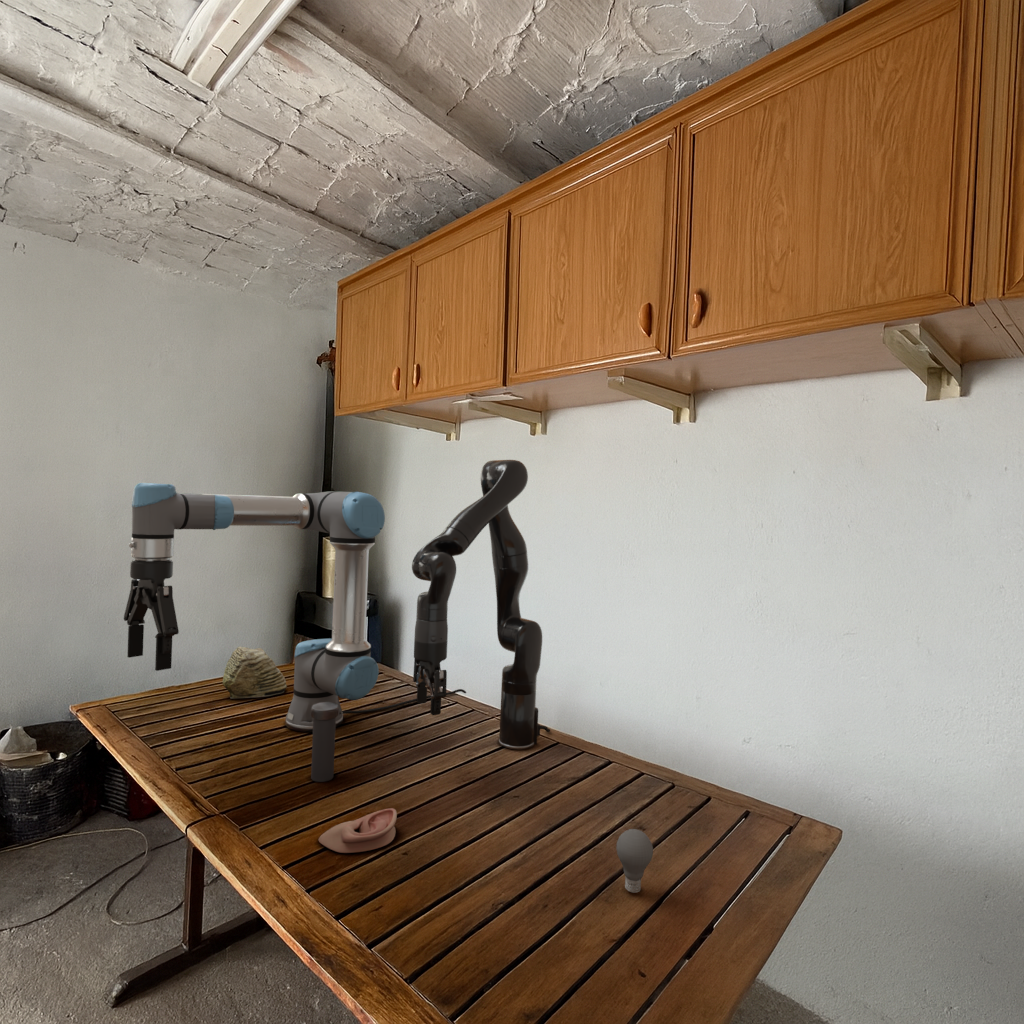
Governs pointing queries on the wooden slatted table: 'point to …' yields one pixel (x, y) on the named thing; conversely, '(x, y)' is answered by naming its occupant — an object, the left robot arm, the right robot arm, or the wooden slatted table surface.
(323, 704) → the lid
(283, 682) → the fossil
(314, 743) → the dark grey cylinder
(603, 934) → the wooden slatted table surface
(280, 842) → the wooden slatted table surface
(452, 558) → the right robot arm
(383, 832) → the anatomical model
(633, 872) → the light bulb
